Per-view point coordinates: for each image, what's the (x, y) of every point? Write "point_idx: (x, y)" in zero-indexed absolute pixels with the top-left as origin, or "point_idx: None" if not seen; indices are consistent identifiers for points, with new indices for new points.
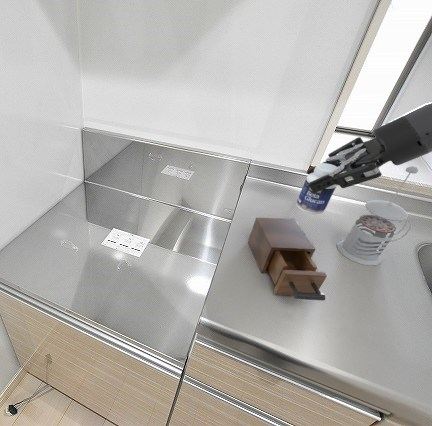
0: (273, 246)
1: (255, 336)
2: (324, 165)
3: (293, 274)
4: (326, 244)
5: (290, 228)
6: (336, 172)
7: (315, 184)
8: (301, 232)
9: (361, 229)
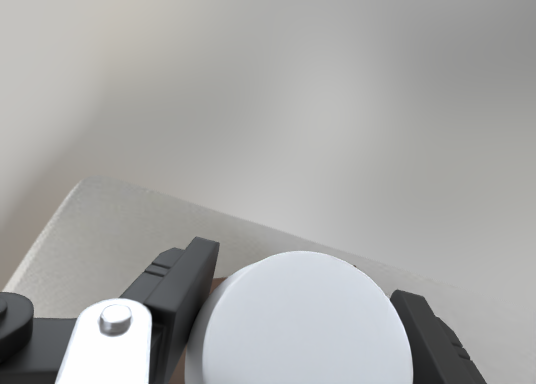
0: (213, 285)
1: (38, 251)
2: (353, 335)
3: None
4: None
5: None
6: (89, 341)
7: (172, 257)
8: None
9: None
